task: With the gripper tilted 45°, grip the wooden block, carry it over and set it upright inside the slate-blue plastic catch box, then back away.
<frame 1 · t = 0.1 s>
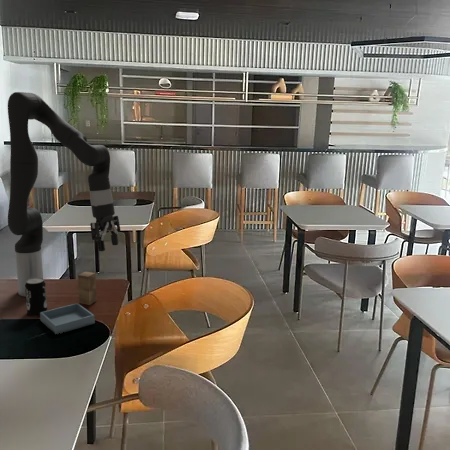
hand: (108, 247, 164), 22 cm above the table, tool pointing down, fingers open, 8 cm apart
beverage can: (37, 313, 163), on the table
catch box: (67, 322, 156), on the table
wooden block: (88, 301, 173), on the table
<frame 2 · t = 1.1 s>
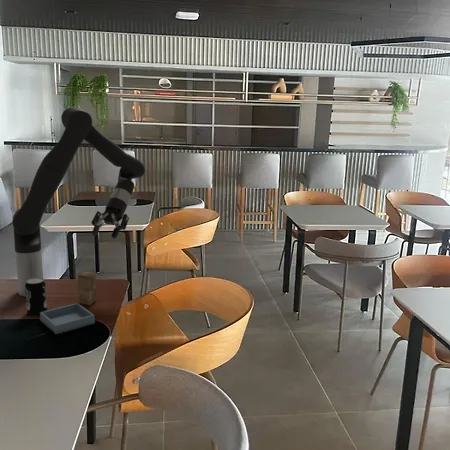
hand: (103, 236, 179), 23 cm above the table, tool tilted 45°, fingers open, 8 cm apart
nothing on the table moved.
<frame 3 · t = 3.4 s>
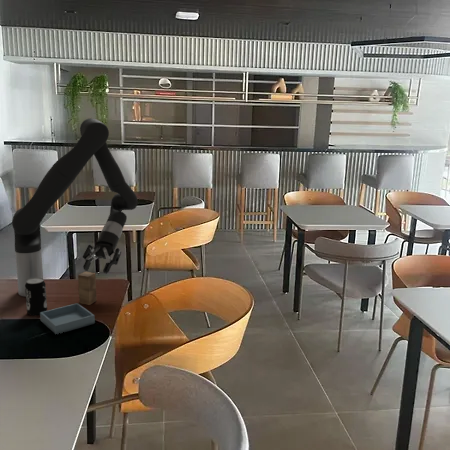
hand: (95, 271, 176), 10 cm above the table, tool tilted 45°, fingers open, 8 cm apart
nothing on the table moved.
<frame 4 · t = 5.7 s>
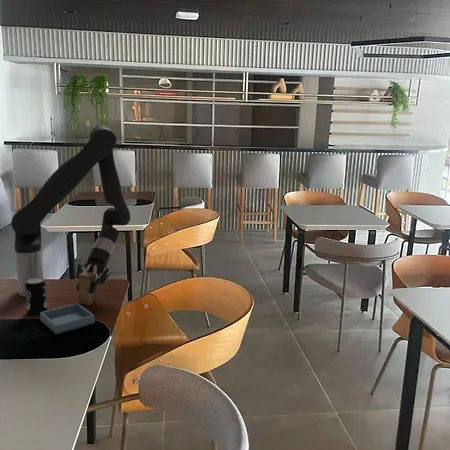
hand: (84, 291, 171), 5 cm above the table, tool tilted 45°, fingers closed on wooden block, 4 cm apart
wooden block: (88, 301, 173), on the table, touching gripper
everything else where it was.
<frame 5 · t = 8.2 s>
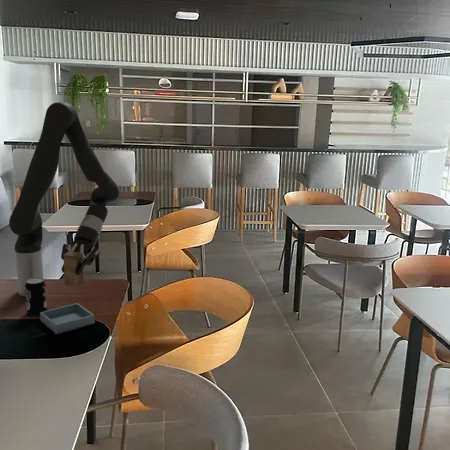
hand: (70, 273, 157), 16 cm above the table, tool tilted 45°, fingers closed on wooden block, 4 cm apart
wooden block: (74, 284, 160), point 11 cm above the table, touching gripper
everything else where it was.
when the fingers open (7 cm above the table, at t = 10.8 s): wooden block drops 1 cm, resting on catch box.
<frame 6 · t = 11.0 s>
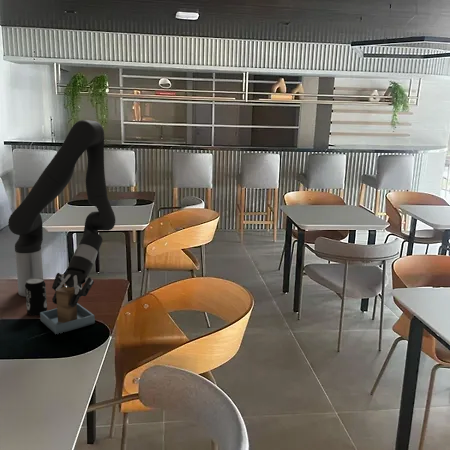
hand: (63, 304, 153), 7 cm above the table, tool tilted 45°, fingers open, 6 cm apart
wooden block: (67, 320, 156), point 1 cm above the table, touching catch box
everything else where it was.
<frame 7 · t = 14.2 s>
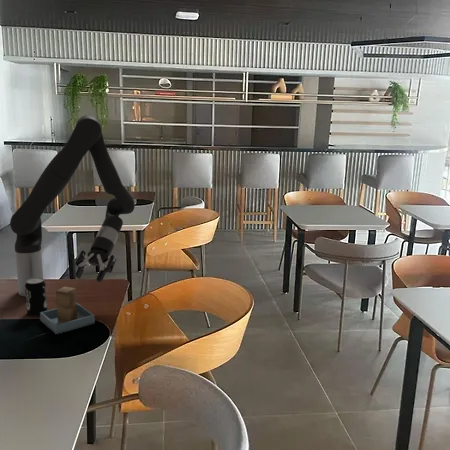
hand: (87, 279, 166), 11 cm above the table, tool tilted 45°, fingers open, 8 cm apart
nothing on the table moved.
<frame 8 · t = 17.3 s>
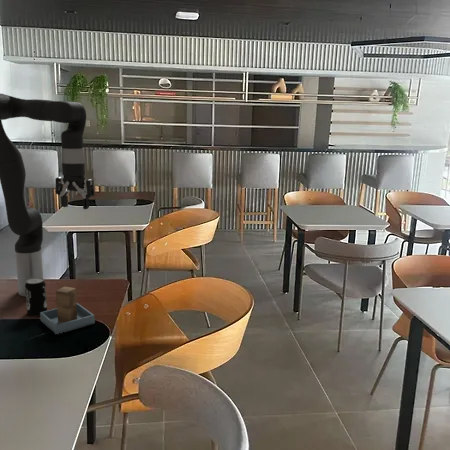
hand: (75, 207, 163), 36 cm above the table, tool pointing down, fingers open, 8 cm apart
nothing on the table moved.
at the end: wooden block inside the target area on the catch box (0.1 cm from its centre), point 0.6 cm above the catch box's base; wooden block tilted 0°; the gripper is holding nothing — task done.
